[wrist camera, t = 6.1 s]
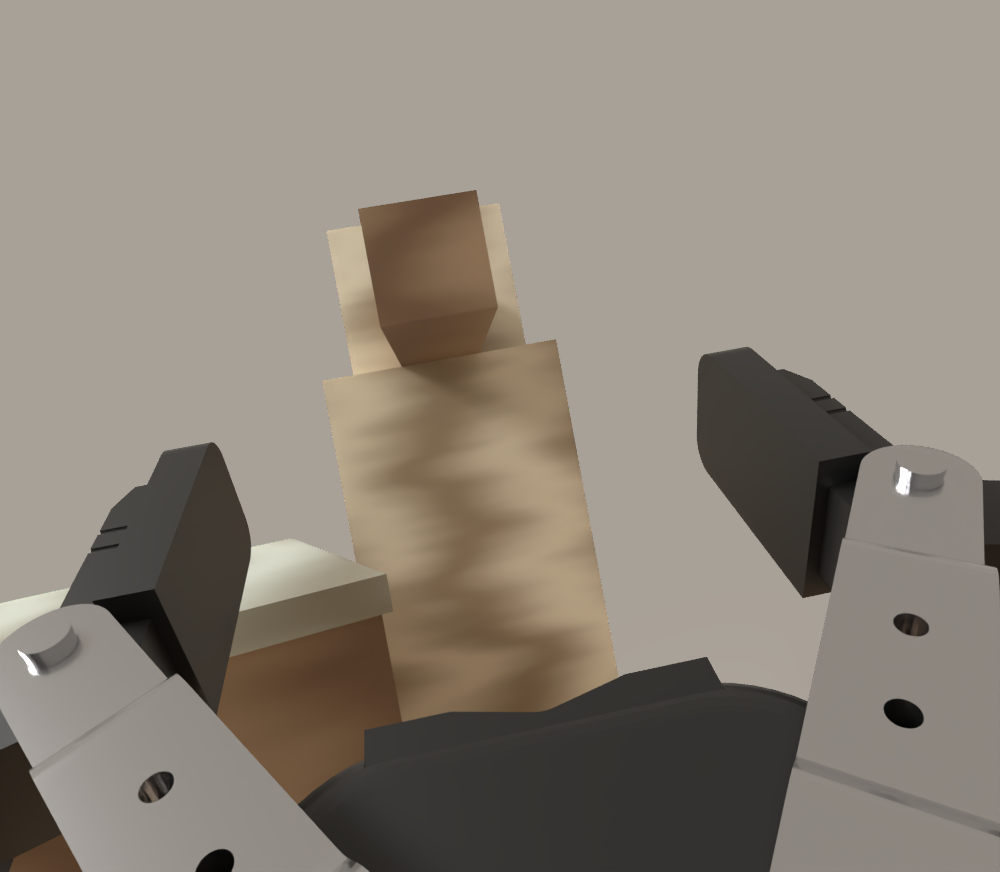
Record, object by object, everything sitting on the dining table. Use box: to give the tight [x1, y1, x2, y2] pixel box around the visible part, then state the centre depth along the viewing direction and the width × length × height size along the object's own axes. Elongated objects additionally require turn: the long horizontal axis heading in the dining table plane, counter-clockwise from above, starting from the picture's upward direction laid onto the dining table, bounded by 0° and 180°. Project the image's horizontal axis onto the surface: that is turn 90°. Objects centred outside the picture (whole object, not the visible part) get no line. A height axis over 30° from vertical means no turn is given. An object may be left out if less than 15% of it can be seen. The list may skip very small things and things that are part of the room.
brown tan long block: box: [327, 190, 526, 375], centre depth 27 cm, size 7×18×6 cm, turn 4°
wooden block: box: [323, 340, 618, 722], centre depth 32 cm, size 10×10×34 cm
